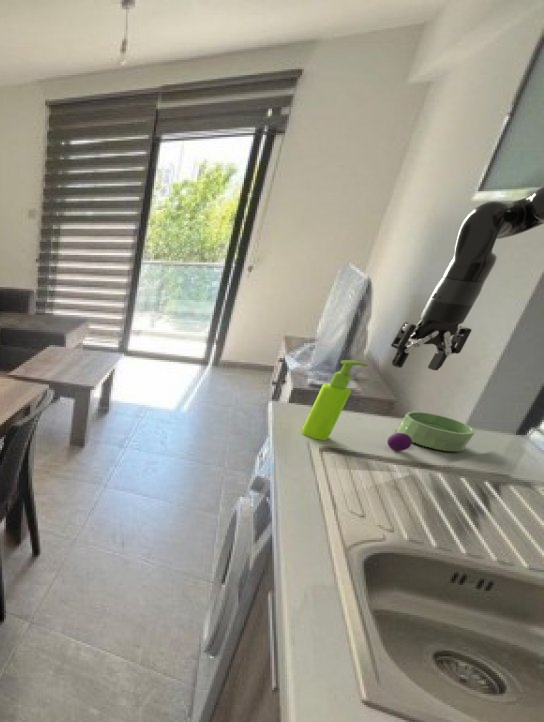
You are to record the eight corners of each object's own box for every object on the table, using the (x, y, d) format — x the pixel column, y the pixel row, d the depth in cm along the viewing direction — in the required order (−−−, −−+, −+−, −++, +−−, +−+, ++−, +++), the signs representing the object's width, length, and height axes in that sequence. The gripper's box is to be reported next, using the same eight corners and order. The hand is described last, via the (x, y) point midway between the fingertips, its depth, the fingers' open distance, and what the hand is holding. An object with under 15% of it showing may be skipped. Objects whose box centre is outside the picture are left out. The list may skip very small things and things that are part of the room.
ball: (410, 452, 119) (419, 436, 117) (400, 454, 117) (409, 439, 115) (390, 444, 122) (399, 428, 120) (380, 446, 121) (388, 431, 119)
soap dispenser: (337, 440, 123) (375, 366, 113) (310, 439, 122) (346, 364, 113) (321, 430, 128) (357, 358, 118) (296, 429, 128) (329, 356, 118)
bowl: (472, 449, 122) (485, 430, 120) (445, 456, 118) (458, 437, 115) (412, 427, 133) (423, 409, 130) (385, 433, 128) (395, 414, 126)
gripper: (433, 301, 106) (396, 370, 114) (499, 305, 106) (457, 375, 114) (406, 294, 113) (373, 361, 121) (469, 298, 112) (431, 365, 120)
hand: (414, 367), depth 117 cm, fingers open, 8 cm apart
